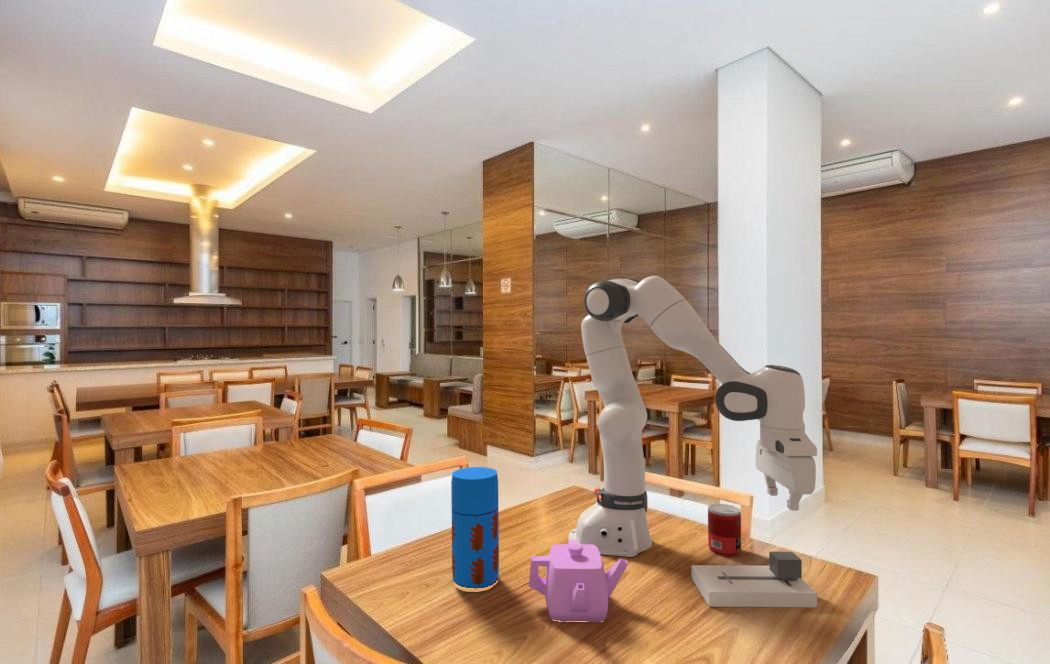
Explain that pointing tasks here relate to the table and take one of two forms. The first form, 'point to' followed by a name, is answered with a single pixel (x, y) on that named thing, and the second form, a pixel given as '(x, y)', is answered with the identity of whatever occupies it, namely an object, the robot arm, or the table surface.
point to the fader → (785, 565)
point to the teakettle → (575, 581)
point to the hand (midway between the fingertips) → (782, 501)
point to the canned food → (724, 529)
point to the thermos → (475, 527)
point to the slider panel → (750, 587)
